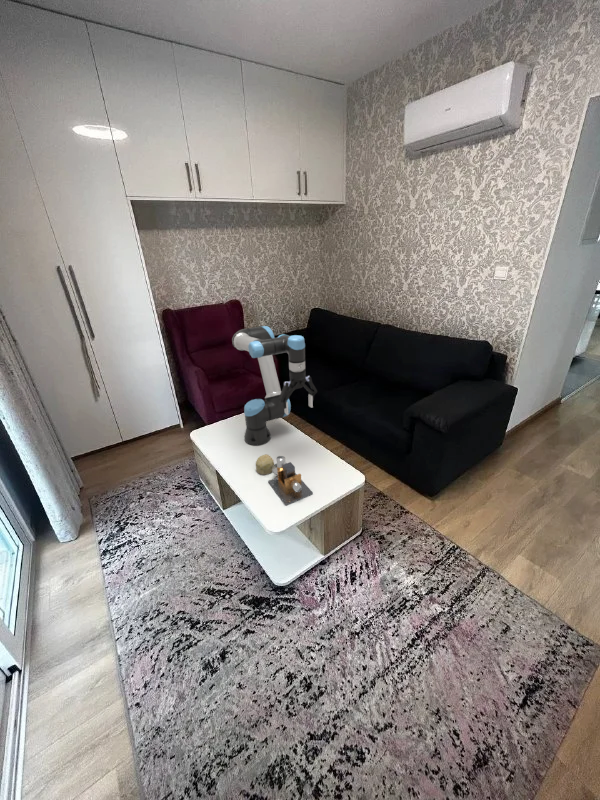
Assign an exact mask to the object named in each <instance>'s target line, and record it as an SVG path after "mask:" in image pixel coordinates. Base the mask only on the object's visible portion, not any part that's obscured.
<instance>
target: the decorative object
mask: <svg viewBox="0 0 600 800" xmlns="http://www.w3.org/2000/svg"><path fill="white" fill-rule="evenodd" d="M273 465H275V462H274V459H273V457H272V456H271V455H270V454H262V455H260V456H259V457H257V459H256V461H255V472H256V473H258V474H259V475H262V476H267V475H269V474H272V473H273V472H272V467H273Z"/></svg>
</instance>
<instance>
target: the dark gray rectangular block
mask: <svg viewBox="0 0 600 800" xmlns="http://www.w3.org/2000/svg"><path fill="white" fill-rule="evenodd" d="M285 463H286V464H284V465H283V476H284V479H287V478H290V477H292V476H295V473H296V466H295V465H294V464H293V463H292V462H291V461H289V462H285ZM284 485H285V484H284Z"/></svg>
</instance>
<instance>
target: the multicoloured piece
mask: <svg viewBox="0 0 600 800" xmlns="http://www.w3.org/2000/svg"><path fill="white" fill-rule="evenodd" d="M286 463H287V462H286V457H285V456H283V455H279V456H277V457H276V463H274V465H273V467H272V472H271V473H273V474H274V475H275V476H277V477H275V478H272V479H270V480H268V481H267V482H268V484H269V485H270V487H271V489H272V490H273V491H274V493H275V494H276V495H277V497H278V498H279V499H280V501H281V502H282V503H283V504H284V506H285V507H286V506H288V505H289V506H290V505H291V504H293V503H296V502H298V501H301V500H303V499H306V498H307V497H309V496H312V495H314V492H313V491H312V489H311V488H309V486H308V485H307V484H306V483H305V482H304V481H303V479H302V474H301V473H298V474H297V473H296V472H295V476H292V477H290V478H287V479H284V476H283V465H284V464H286ZM284 484H285V485H284Z"/></svg>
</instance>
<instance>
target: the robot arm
mask: <svg viewBox="0 0 600 800" xmlns="http://www.w3.org/2000/svg"><path fill="white" fill-rule="evenodd" d="M231 342H232V346H233V347H234V348H235V349H236V350H238V351H246V352H248V353H249V356H251V358H252V359H257V361H258V365H259V369H260V373H261V377H262V381H263V385H264V389H265V393H266V395H265V397H264V399H262V398H255V399H251V400H249V401H247V402H246V404H244V407H243V408H244V409H243V411H244V412H243V414H244V419H245V432H244V435H243V436H244V437H243V438H244V442H245V443H246V444H247V445H249V446H254V447H255V446H263V445H265V444H268V442H270V440H271V432H270V430H269V428H268V426H267V422H269V421H274V420H278V419H282V418H284V417H288V416H289V415H290V413H291V409H292V408H291V407H292V405H291V401H290V397H291V395H292V394H293V393H294V391H296V390H298V389H302V388H304V389H305V390H306V391H307V392H308V396H307V397H308V407H309V408H314V406H313V402H314V400H315V396H316V394H317V393H318V389H317V388H316V386H315V385H314V383H313V379H312V377H311V376H310V375H307V374H306V343H305V338H304V335H303V336H302V335H297V334H294V335H288V334H284V333H283V334H280V335H278V336H277V337H275V334H274V332H273V330H272V328H271V327H269V326H267V325H261V326H254V327H250V328H242V329H239V330H238V331H236V332H235V333H234V334H233V336H232V338H231ZM284 353H286V354H287V355H288V369H289V381H283V386H282V388H281V385H280V381H279V378H278V374H277V370H276V364H275V362H274V357H273V356H275V355H279V354H284ZM306 382H307V383H308V385H309V386H310V388H309V386H308V385H307V384H305V383H306Z"/></svg>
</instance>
